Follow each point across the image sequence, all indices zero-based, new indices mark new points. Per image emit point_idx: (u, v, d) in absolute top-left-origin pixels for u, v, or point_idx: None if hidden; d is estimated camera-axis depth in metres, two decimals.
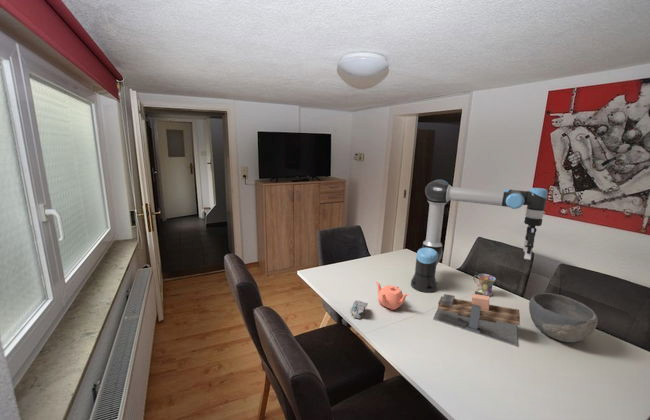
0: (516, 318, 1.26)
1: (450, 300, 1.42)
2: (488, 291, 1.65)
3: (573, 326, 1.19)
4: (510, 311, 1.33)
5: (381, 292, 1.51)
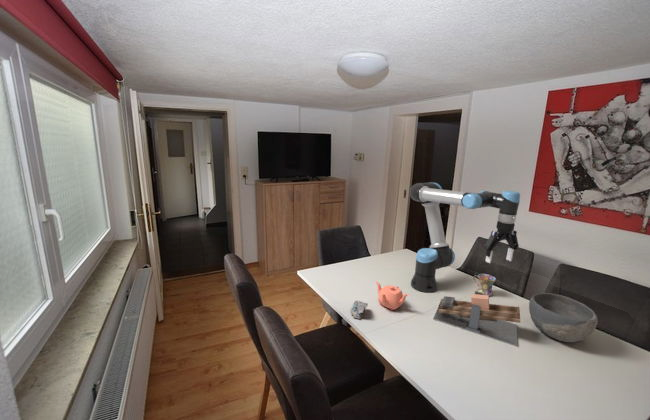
0: (516, 315, 1.26)
1: (450, 301, 1.42)
2: (488, 291, 1.65)
3: (573, 326, 1.19)
4: (510, 309, 1.33)
5: (381, 292, 1.51)
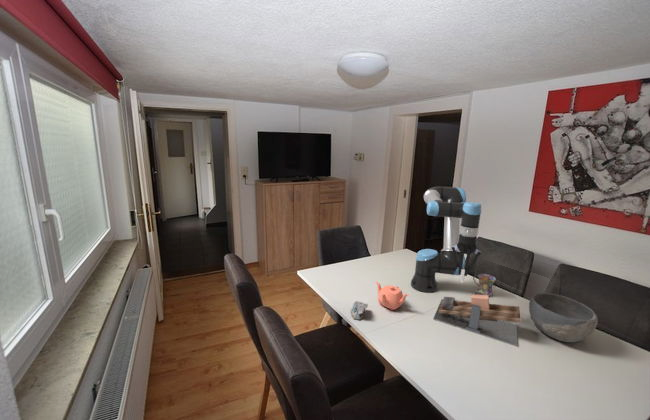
0: (516, 315, 1.26)
1: (450, 302, 1.42)
2: (488, 291, 1.65)
3: (573, 326, 1.19)
4: (510, 309, 1.33)
5: (381, 292, 1.51)
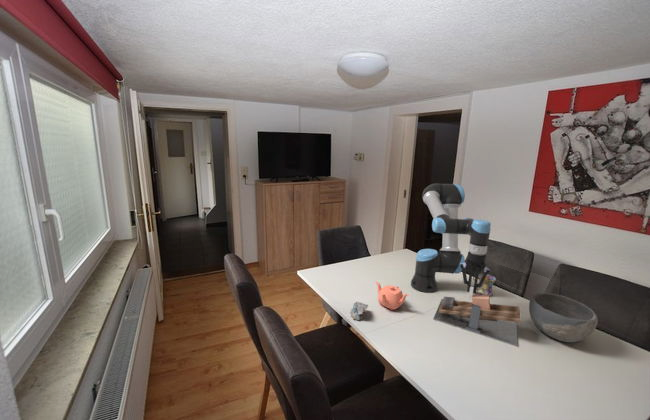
0: (516, 315, 1.26)
1: (450, 302, 1.42)
2: (488, 291, 1.65)
3: (573, 326, 1.19)
4: (510, 309, 1.33)
5: (381, 292, 1.51)
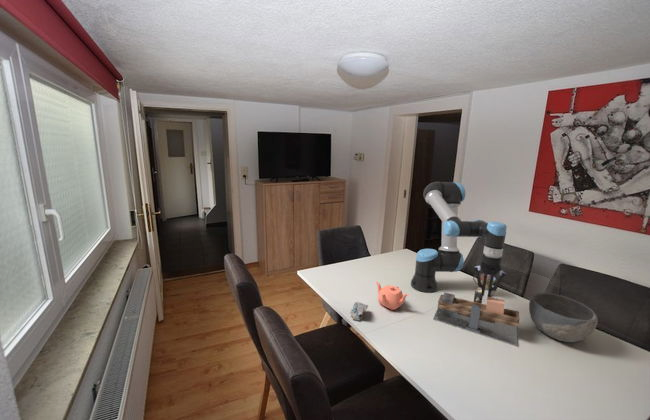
0: (516, 320, 1.26)
1: (450, 298, 1.42)
2: None
3: (573, 326, 1.19)
4: (510, 313, 1.33)
5: (381, 292, 1.51)
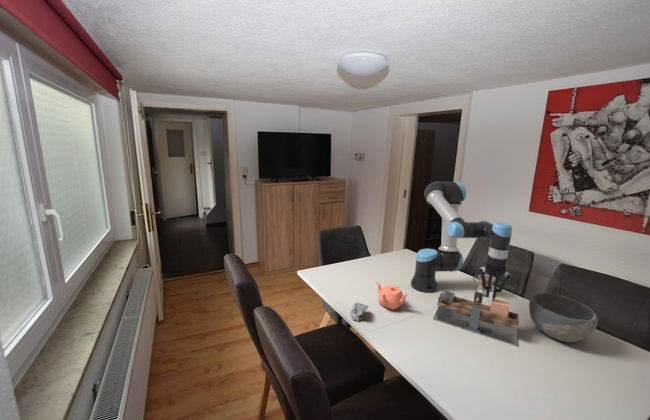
0: (515, 322, 1.27)
1: (450, 297, 1.42)
2: None
3: (573, 326, 1.19)
4: (509, 314, 1.33)
5: (381, 292, 1.51)
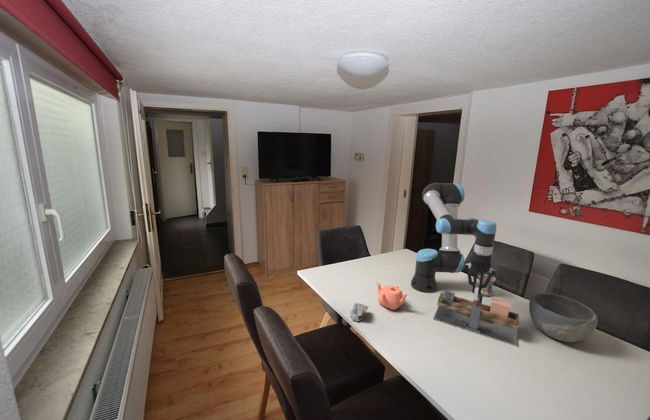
0: (515, 322, 1.27)
1: (450, 297, 1.42)
2: (488, 291, 1.65)
3: (573, 326, 1.19)
4: (509, 314, 1.33)
5: (381, 292, 1.51)
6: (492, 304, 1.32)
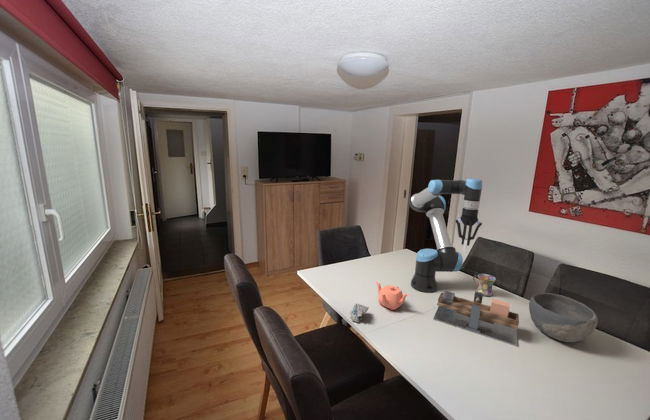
0: (515, 322, 1.27)
1: (450, 297, 1.42)
2: (488, 291, 1.65)
3: (573, 326, 1.19)
4: (509, 314, 1.33)
5: (381, 292, 1.51)
6: (492, 304, 1.32)
